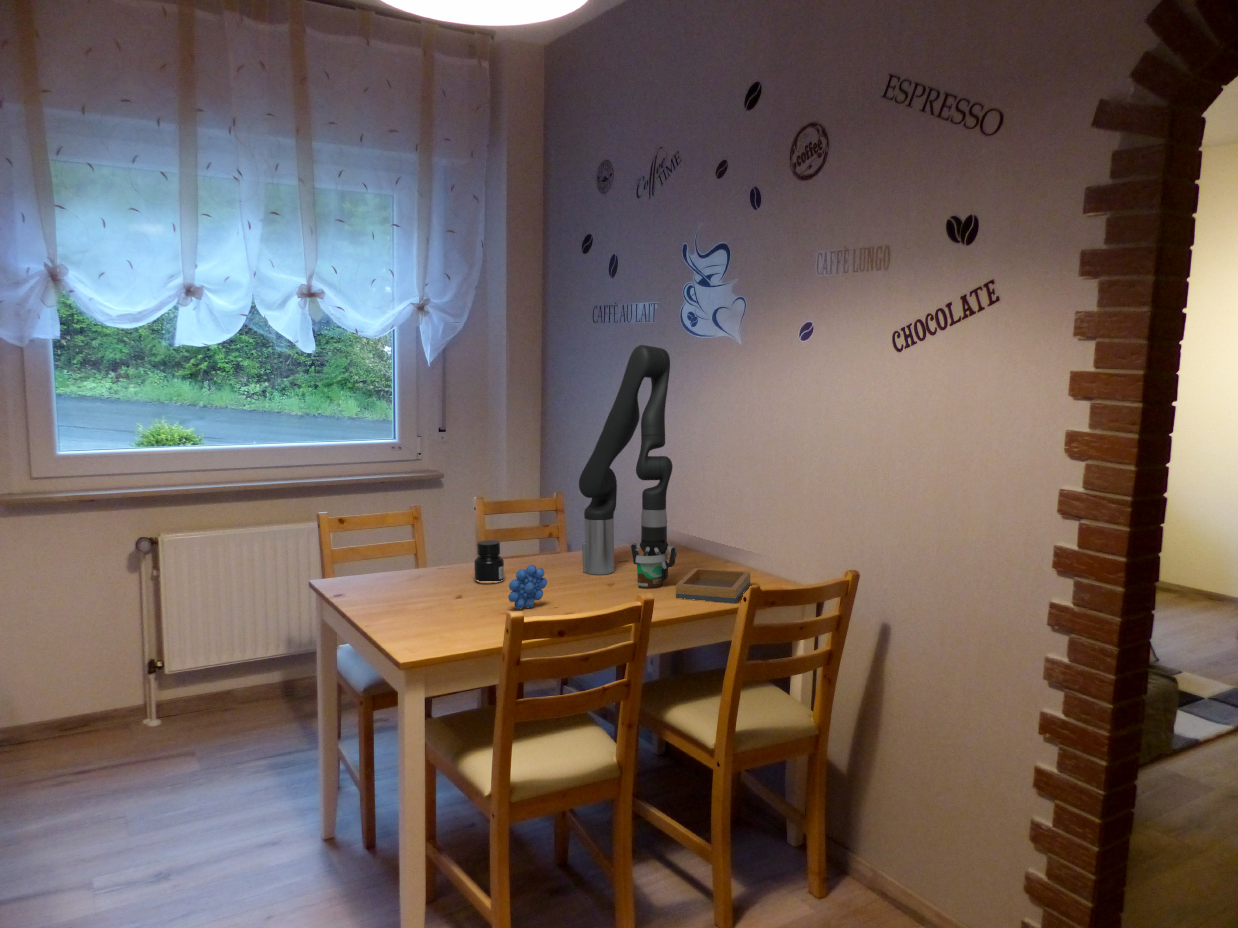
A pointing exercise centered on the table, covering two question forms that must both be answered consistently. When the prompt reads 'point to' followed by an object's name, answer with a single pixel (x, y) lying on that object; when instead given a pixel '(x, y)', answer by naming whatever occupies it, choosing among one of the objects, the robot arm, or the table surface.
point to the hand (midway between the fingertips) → (654, 579)
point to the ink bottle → (489, 561)
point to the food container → (650, 571)
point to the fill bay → (713, 585)
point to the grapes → (527, 587)
